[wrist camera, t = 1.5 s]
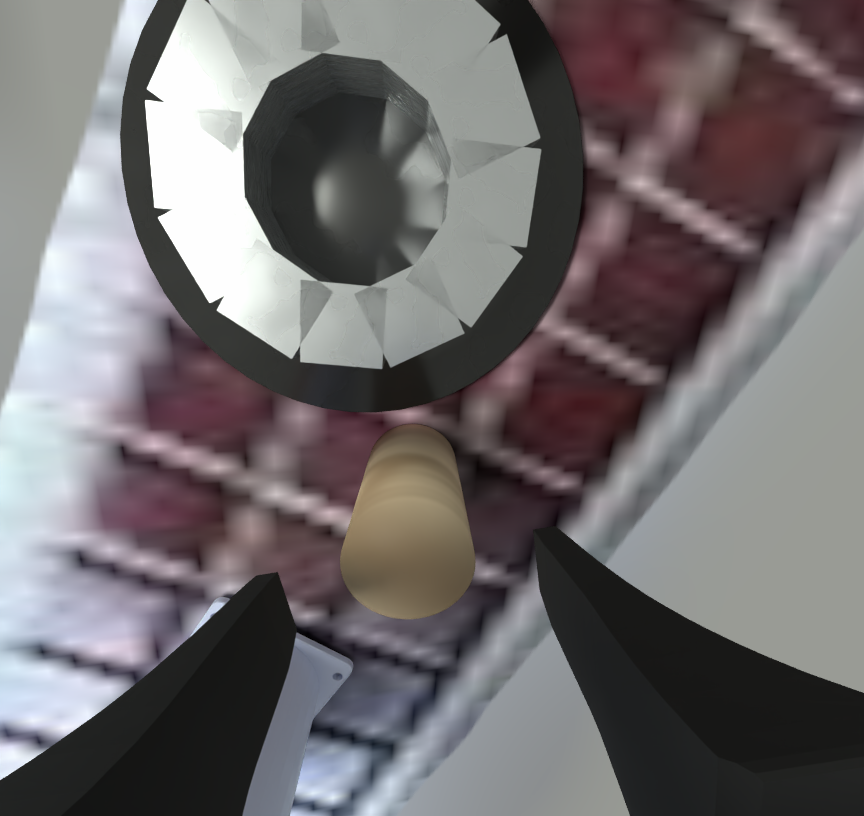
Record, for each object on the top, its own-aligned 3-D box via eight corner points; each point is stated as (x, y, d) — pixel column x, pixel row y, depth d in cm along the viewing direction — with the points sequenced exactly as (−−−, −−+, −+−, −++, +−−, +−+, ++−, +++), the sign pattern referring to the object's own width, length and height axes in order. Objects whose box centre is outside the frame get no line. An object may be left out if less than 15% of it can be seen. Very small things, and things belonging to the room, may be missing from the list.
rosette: (415, 478, 19) (415, 510, 16) (52, 252, 16) (-24, 244, 13) (671, 141, 15) (726, 110, 13) (271, -246, 12) (230, -400, 9)
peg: (423, 517, 20) (424, 638, 13) (352, 475, 19) (314, 579, 12) (473, 454, 19) (502, 549, 12) (401, 407, 18) (388, 479, 11)
